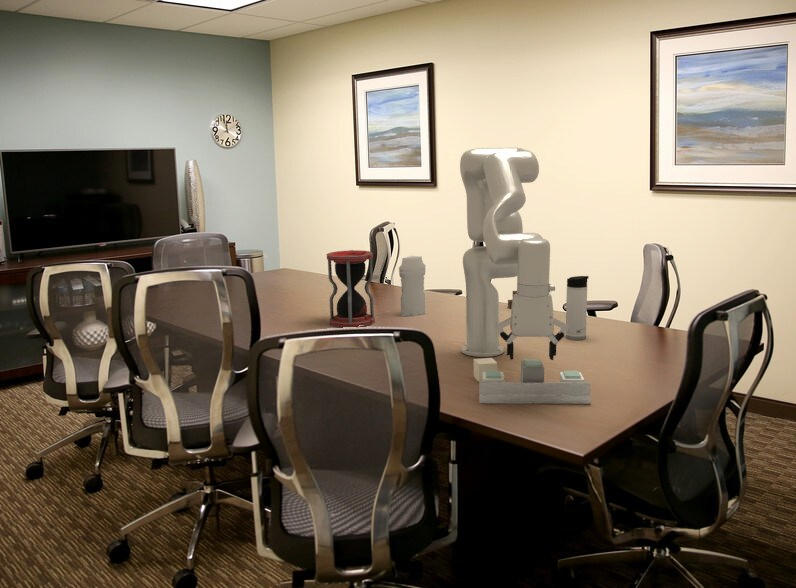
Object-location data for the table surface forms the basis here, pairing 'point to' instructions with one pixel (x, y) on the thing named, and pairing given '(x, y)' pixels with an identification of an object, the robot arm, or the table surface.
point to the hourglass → (350, 288)
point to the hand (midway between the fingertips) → (531, 358)
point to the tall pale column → (412, 286)
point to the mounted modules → (564, 376)
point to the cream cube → (483, 367)
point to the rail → (535, 392)
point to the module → (532, 370)
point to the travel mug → (576, 307)
